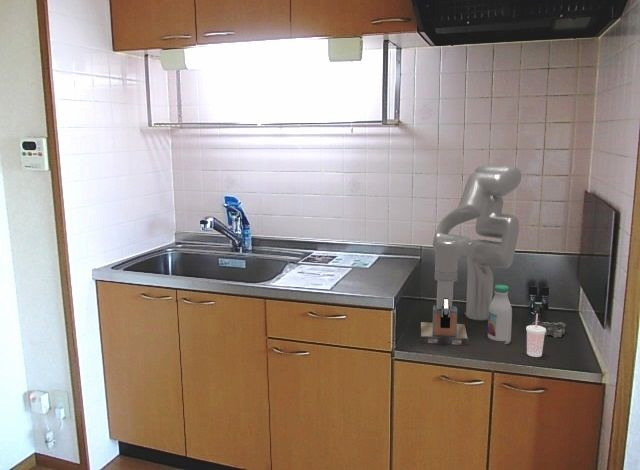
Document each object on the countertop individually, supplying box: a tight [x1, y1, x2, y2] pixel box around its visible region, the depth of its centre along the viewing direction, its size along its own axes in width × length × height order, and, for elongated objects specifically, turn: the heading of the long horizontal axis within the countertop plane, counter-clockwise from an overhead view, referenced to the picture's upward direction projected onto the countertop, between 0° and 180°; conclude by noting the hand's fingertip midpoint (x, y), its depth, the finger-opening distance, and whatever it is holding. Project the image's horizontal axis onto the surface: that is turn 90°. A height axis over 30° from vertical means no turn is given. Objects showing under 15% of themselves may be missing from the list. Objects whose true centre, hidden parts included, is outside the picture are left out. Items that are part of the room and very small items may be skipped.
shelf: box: [420, 321, 470, 346], centre depth 200 cm, size 16×20×4 cm
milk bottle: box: [487, 284, 513, 345], centre depth 194 cm, size 8×8×20 cm
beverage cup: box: [525, 313, 546, 358], centre depth 183 cm, size 6×6×14 cm
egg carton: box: [531, 320, 567, 338], centre depth 203 cm, size 11×8×4 cm
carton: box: [432, 304, 458, 338], centre depth 194 cm, size 8×5×11 cm, turn 80°
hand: (444, 322), depth 194 cm, fingers open, 9 cm apart
